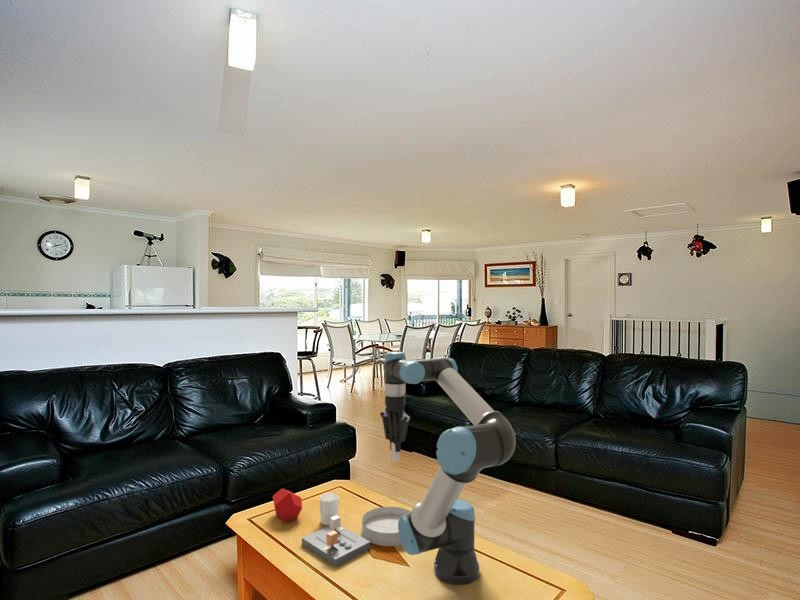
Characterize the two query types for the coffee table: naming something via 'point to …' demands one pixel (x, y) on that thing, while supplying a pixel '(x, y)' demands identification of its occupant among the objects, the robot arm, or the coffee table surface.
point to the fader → (332, 538)
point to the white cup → (328, 507)
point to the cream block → (335, 522)
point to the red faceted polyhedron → (287, 505)
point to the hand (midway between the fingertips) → (395, 460)
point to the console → (336, 545)
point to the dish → (383, 525)
